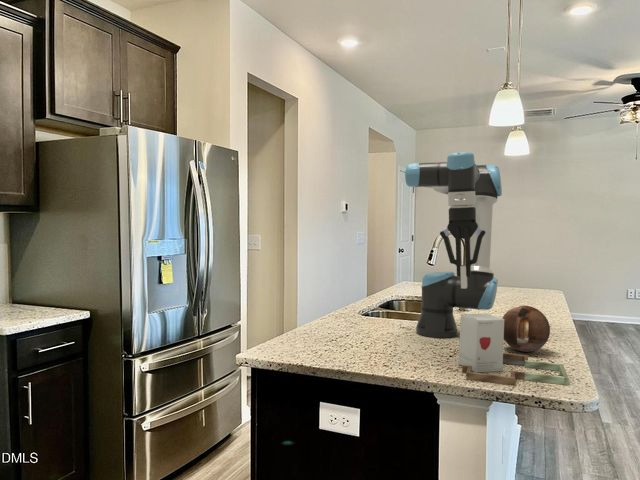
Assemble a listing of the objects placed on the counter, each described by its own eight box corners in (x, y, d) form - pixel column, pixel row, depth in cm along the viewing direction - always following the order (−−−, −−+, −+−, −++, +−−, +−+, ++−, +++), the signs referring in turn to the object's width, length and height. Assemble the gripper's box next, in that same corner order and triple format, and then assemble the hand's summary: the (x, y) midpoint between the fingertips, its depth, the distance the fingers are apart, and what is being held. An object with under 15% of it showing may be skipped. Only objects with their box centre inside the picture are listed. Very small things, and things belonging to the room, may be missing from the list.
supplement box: (475, 373, 135) (477, 319, 134) (457, 364, 144) (459, 313, 143) (503, 371, 137) (505, 318, 137) (484, 362, 146) (486, 312, 146)
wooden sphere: (513, 343, 171) (514, 300, 170) (557, 352, 160) (558, 306, 159) (491, 350, 161) (492, 304, 161) (536, 360, 150) (537, 311, 149)
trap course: (460, 378, 130) (460, 371, 130) (467, 354, 154) (467, 349, 154) (571, 392, 121) (571, 385, 121) (560, 365, 145) (560, 359, 145)
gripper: (436, 208, 140) (439, 289, 142) (484, 206, 135) (486, 290, 137) (440, 207, 147) (443, 284, 149) (486, 205, 142) (488, 285, 144)
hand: (464, 287), depth 143 cm, fingers closed
